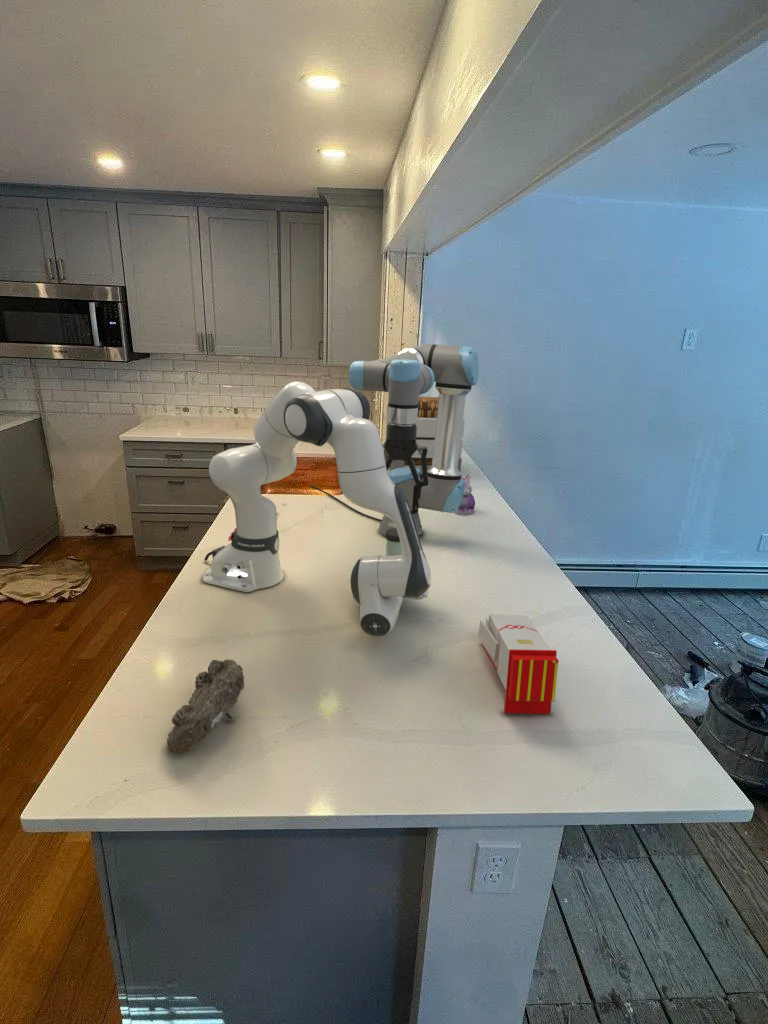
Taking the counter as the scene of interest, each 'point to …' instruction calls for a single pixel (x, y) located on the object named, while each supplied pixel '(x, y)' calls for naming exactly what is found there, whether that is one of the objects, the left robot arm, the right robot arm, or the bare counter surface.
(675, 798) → the counter surface
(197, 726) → the fossil
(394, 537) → the lid
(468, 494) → the figurine
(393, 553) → the pale green bottle
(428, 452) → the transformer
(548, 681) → the toy
